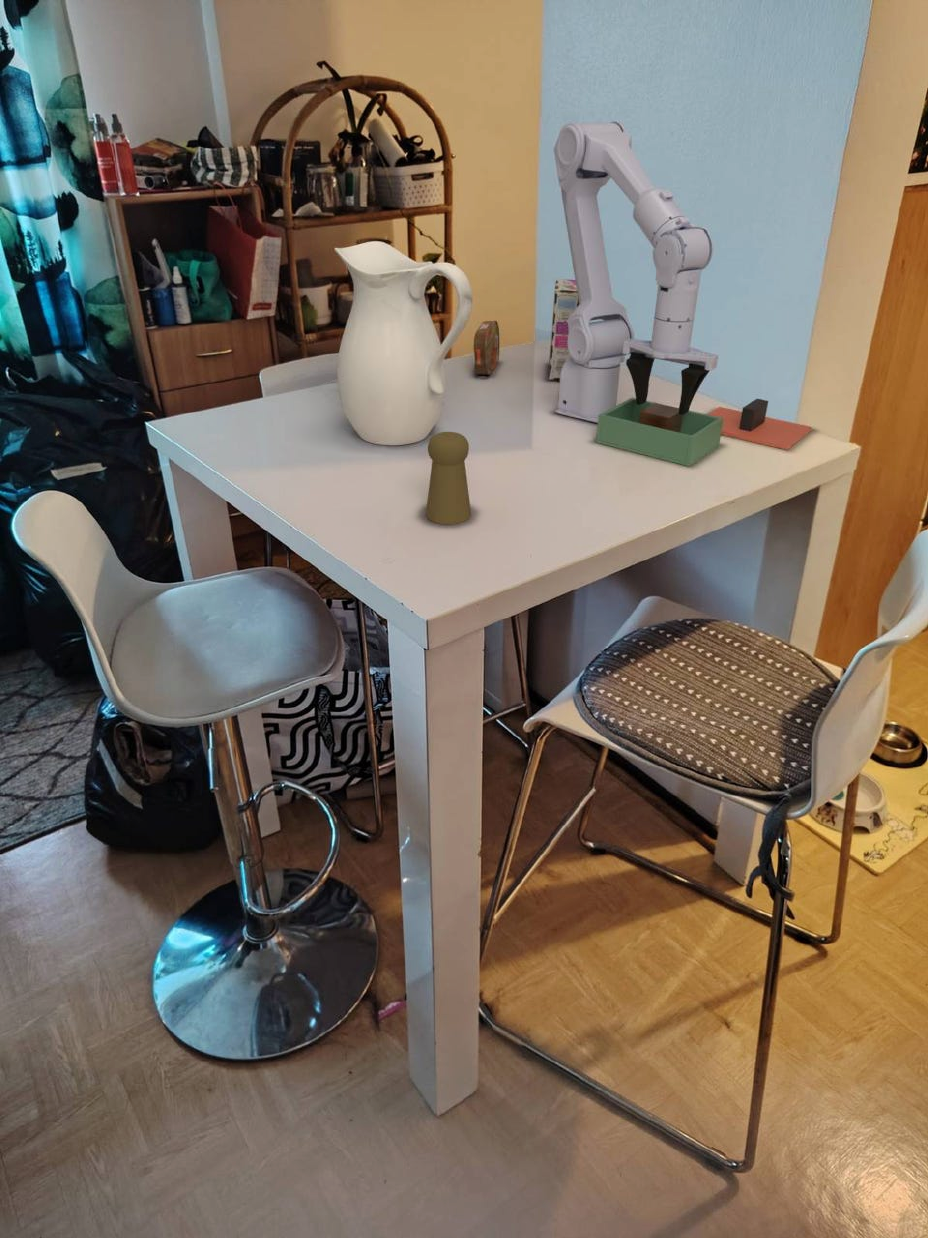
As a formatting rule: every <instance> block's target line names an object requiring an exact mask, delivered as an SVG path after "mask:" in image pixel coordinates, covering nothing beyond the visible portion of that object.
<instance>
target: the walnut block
mask: <svg viewBox="0 0 928 1238" xmlns="http://www.w3.org/2000/svg"><path fill="white" fill-rule="evenodd" d="M657 403H658V402H654V404H652V405H650V406H649V407H647V408H645V409H643V410H641V411H640V416H639V423H641V424H645V425H649V426H653V427H658V428H662V429H666V430H670V431H674V432H678V433H680V431H681V424H682V417H683V415H681V414H679V407H676V406H672V407H670V406H671V405H667V404H663V405H661V404H662V403H658V404H657ZM666 405H667V406H666ZM675 407H676V408H675Z"/></svg>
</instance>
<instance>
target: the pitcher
mask: <svg viewBox="0 0 928 1238" xmlns="http://www.w3.org/2000/svg"><path fill="white" fill-rule="evenodd" d="M333 249H334V251H335V253H336V254H337V255H338V257H339V258H340V259H341V261H342V262H343V264H344V265H345V267H346V268H347V270H348V272H349V274H350V276H351V279H352V284H353V295H352V296H353V297H352V304H351V307H350V312H349V315H348V319H347V321H346V324H345V328H344V332H343V335H342V338H341V342H340V345H339V352H338V357H337V365H336V366H337V367H336V368H337V369H336V381H337V391H338V396H339V400H340V403H341V407H342V409H343V411H344V413H345V416H346V417H347V419H348V421H349V424H350V425H351V426H352V428H353V430H354V431H355V432H356V434H357V435H358V436H359V437H360V438H361V439H362V440H364V441H365V442H368V443H370V444H374V445H380V446H405V445H409V444H416V443H418V442H421V441H422V440H424V439H426V438H427V437H428V436H429V435H430V433H431V431H432V430H433V428H434V426H435V425H436V423H437V421H438V419H439V416H440V414H441V412H442V410H443V406H444V402H445V398H446V392H447V391H446V390H447V368H446V367H447V366H446V360H445V358H446V356H447V354H448V353H449V352H450V350H451V348H452V347H453V346H454V344H455V343H456V342H457V340H458V338H459V337H460V336H461V334H462V332H463V331H464V329H465V327H466V325H467V323H468V321H469V319H470V317H471V312H472V308H473V291H472V287H471V284H470V281H469V279H468V277H467V275H466V274H465V273H464V271H463V270H462V269H461V268H460V267H458V266H457V265H455V264H453V263H449V262H442V261H441V262H435V263H434V262H432V261H424V262H418V261H415V260H413V259H412V258H410V257H408V256H407V255H405V253H403V252H401V251H399V250H398V249H397V248H395V247H394V246H392V245H390V244H388V243H386V242H384V241H379V240H374V241H366V242H362V243H358V244H355V245H352V246H347V247H334V248H333ZM437 275H440V276H442V277H444V278H446V279H447V280H448V281H450V283H451V284H452V285H453V288H454V289H455V291H456V295H457V309H456V310H457V311H456V314H455V319H454V321H453V324H452V326H451V327H450V329H449V331H448V333H447V334H446V336H445V338H444V340H443V341H442V343H441V341H440V338H439V334H438V332H437V330H436V327H435V323H434V322H433V319H432V316H431V313H430V311H429V308H428V306H427V301H426V298H425V292H426V287H427V285H428V283H429V282H430V281H431V280H432V279H433V278H434V277H436V276H437Z"/></svg>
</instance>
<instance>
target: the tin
mask: <svg viewBox="0 0 928 1238" xmlns="http://www.w3.org/2000/svg"><path fill="white" fill-rule="evenodd" d="M473 352H474V353H473V354H474V355H473V356H474V371H475V374H476V375H478V376H482V375H483V376H491V375H492V374H493V372H494V370H495V368H496V366H497V364H498V363H499V357H500V328H499V323H498V321H497V320H486V321H483V322H482V323H481V324H480V325H479V327H478V329H476V331H475V333H474V336H473Z"/></svg>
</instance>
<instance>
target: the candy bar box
mask: <svg viewBox="0 0 928 1238" xmlns="http://www.w3.org/2000/svg"><path fill="white" fill-rule="evenodd" d="M554 283H555V284H554V292H553V293H554V294H553V306H552V318H551V319H552V321H551V333H550V334H551V335H550V346H549V347H550V349H549V361H548V381H554V382H555V381H557V382H560V375H561V370H562V368H563V365H564V363H565V362H566V361H567V360H568V359H569V358H571V355H570V353H569V350H568V333H569V328H568V321H567V320H568V318H569V317H570V316H571V314H572V313H573V312H574V311H575V310H576V308H577V307H578V306H579V299H578V293H577V287H576V280H575V279H561V278H560V279H557V278H556V279H555V282H554Z"/></svg>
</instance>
